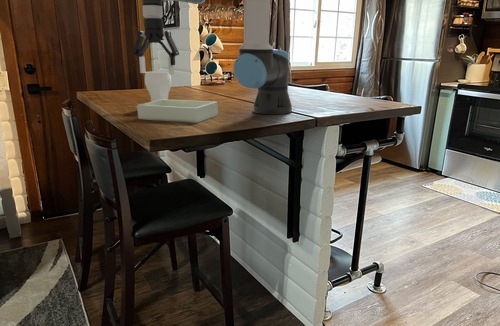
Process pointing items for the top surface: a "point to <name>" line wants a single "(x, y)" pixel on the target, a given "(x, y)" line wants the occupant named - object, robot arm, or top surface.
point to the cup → (158, 84)
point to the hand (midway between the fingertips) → (157, 73)
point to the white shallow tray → (178, 110)
